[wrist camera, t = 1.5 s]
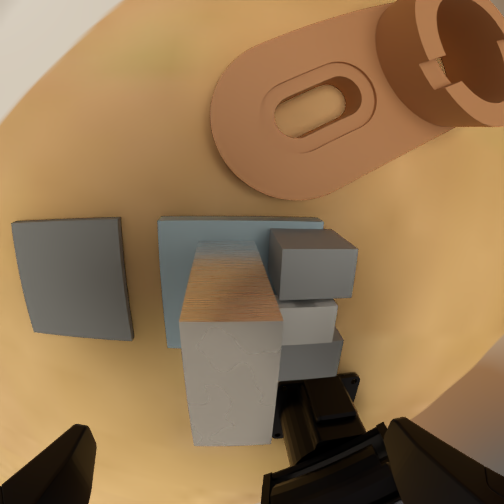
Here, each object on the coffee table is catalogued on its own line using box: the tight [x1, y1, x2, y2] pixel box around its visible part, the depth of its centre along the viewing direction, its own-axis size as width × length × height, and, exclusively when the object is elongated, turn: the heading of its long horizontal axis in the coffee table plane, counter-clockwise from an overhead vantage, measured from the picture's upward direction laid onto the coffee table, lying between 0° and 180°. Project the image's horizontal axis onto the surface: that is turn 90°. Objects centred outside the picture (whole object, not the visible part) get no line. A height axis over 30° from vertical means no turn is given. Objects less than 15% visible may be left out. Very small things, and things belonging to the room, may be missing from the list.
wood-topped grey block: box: [179, 241, 284, 446], centre depth 14 cm, size 6×3×9 cm, turn 178°
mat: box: [11, 217, 134, 341], centre depth 18 cm, size 8×8×1 cm
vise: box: [157, 216, 358, 381], centre depth 17 cm, size 8×10×5 cm
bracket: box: [210, 0, 504, 200], centre depth 13 cm, size 18×8×7 cm, turn 119°
